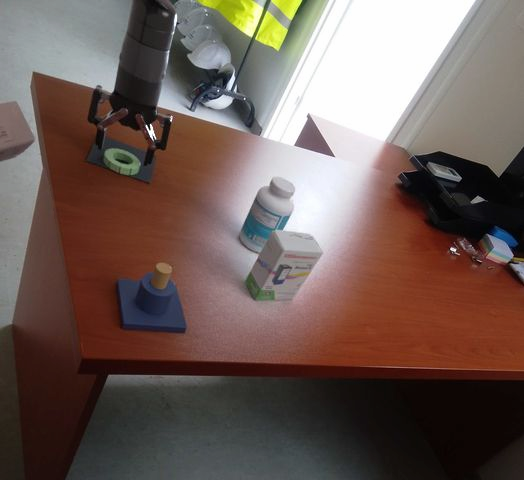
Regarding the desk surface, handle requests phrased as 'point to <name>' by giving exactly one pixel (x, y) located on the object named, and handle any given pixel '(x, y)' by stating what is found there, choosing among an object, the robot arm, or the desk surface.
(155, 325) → the stand
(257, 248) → the pill bottle
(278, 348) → the desk surface
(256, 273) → the ink box
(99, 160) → the mat
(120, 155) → the ring
